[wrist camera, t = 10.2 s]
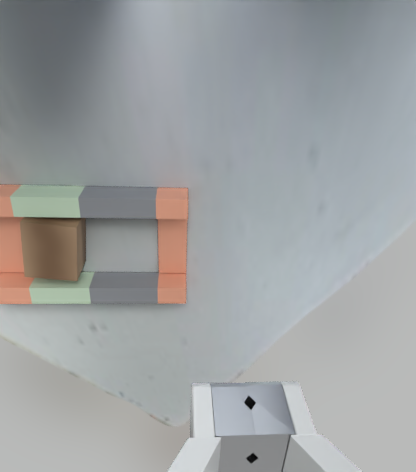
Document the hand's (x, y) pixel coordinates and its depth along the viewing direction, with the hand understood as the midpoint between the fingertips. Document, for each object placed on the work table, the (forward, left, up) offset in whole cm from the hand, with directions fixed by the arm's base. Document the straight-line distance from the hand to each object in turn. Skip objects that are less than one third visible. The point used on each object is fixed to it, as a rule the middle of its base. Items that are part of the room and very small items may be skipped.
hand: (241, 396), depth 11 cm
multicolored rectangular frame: (+11, +11, -29) cm, 33 cm away
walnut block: (+14, +10, -29) cm, 34 cm away
